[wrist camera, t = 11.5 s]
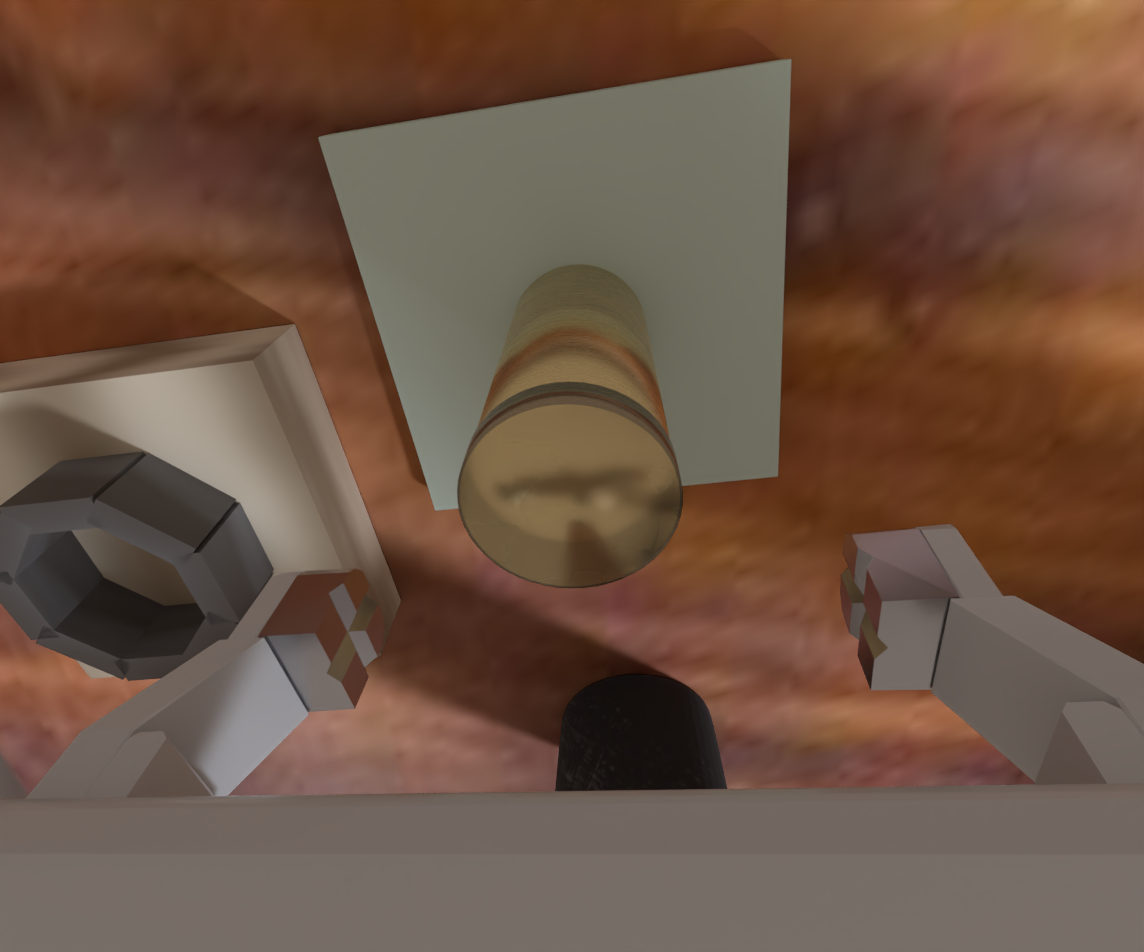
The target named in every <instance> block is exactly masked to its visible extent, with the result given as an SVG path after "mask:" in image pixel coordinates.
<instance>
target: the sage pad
mask: <svg viewBox="0 0 1144 952" xmlns="http://www.w3.org/2000/svg"><path fill="white" fill-rule="evenodd" d="M790 89H791V59H780V60H774V61H768V62H762V63H756V64H750V65H744V66H738V67H732V68H726V69H720V70H714V71H708V72H702V73H696V74H689V75H683V76H677V77H671V78H665V79H659V80H653V81H647V82H641V83H635V84H629V85H623V86H617V87H611V88H605V89H599V90H593V91H587V92H581V93H574V94H568V95H562V96H556V97H550V98H544V99H538V100H532V101H526V102H520V103H514V104H508V105H502V106H496V107H490V108H484V109H478V110H472V111H466V112H459V113H453V114H447V115H441V116H435V117H429V118H423V119H417V120H411V121H405V122H399V123H393V124H387V125H381V126H375V127H369V128H363V129H357V130H350V131H344V132H338V133H332V134H328V135H324V136H321V137H318V139H319V142H320V145H321V149H322V152H323V155H324V158H325V161H326V165H327V168H328V171H329V174H330V177H331V180H332V184H333V187H334V190H335V193H336V196H337V200H338V203H339V206H340V209H341V212H342V215H343V219H344V222H345V225H346V228H347V231H348V235H349V238H350V241H351V244H352V247H353V250H354V254H355V257H356V260H357V263H358V266H359V270H360V273H361V276H362V279H363V282H364V286H365V289H366V292H367V295H368V298H369V301H370V305H371V308H372V311H373V314H374V317H375V321H376V324H377V327H378V330H379V333H380V336H381V340H382V343H383V346H384V349H385V352H386V356H387V359H388V362H389V365H390V368H391V371H392V375H393V378H394V381H395V384H396V387H397V391H398V394H399V397H400V400H401V403H402V407H403V410H404V413H405V416H406V419H407V422H408V426H409V429H410V432H411V435H412V438H413V442H414V445H415V448H416V451H417V454H418V457H419V461H420V464H421V467H422V470H423V473H424V477H425V480H426V483H427V486H428V489H429V492H430V496H431V499H432V502H433V505H434V508H435V511H438V510H448V509H458V508H459V507H458V502H457V486H458V478H459V474H460V470H461V467H462V464H463V461H464V458H465V455H466V452H467V449H468V446H469V443H470V441H471V439H472V436H473V434H474V432H475V431H476V429H477V427H478V424H479V421H480V417H481V414H482V411H483V408H484V405H485V402H486V399H487V396H488V393H489V390H490V387H491V384H492V380H493V377H494V374H495V371H496V368H497V365H498V362H499V359H500V356H501V353H502V350H503V347H504V343H505V340H506V337H507V334H508V331H509V328H510V325H511V322H512V319H513V316H514V313H515V310H516V307H517V304H518V302H519V300H520V298H521V297H522V295H523V293H524V292H525V291H526V289H527V288H528V287H529V286H530V285H531V284H532V283H533V282H534V281H535V280H536V279H537V278H539V277H540V276H542V275H543V274H545V273H547V272H549V271H551V270H553V269H556V268H559V267H562V266H567V265H576V264H581V265H591V266H596V267H599V268H602V269H605V270H607V271H609V272H611V273H613V274H615V275H616V276H618V277H619V278H621V279H622V280H623V281H624V282H625V283H626V284H628V285H629V287H630V288H631V289H632V290H633V291H634V293H635V294H636V296H637V298H638V299H639V301H640V304H641V306H642V308H643V312H644V315H645V320H646V325H647V330H648V335H649V339H650V344H651V349H652V354H653V359H654V364H655V369H656V374H657V379H658V384H659V389H660V393H661V398H662V403H663V408H664V413H665V418H666V423H667V428H668V433H669V438H670V441H671V443H672V445H673V448H674V451H675V455H676V458H677V463H678V468H679V473H680V477H681V483H682V486H688V485H698V484H708V483H718V482H728V481H738V480H748V479H758V478H768V477H778V461H779V430H780V399H781V368H782V337H783V306H784V275H785V244H786V213H787V182H788V151H789V120H790Z"/></svg>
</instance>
